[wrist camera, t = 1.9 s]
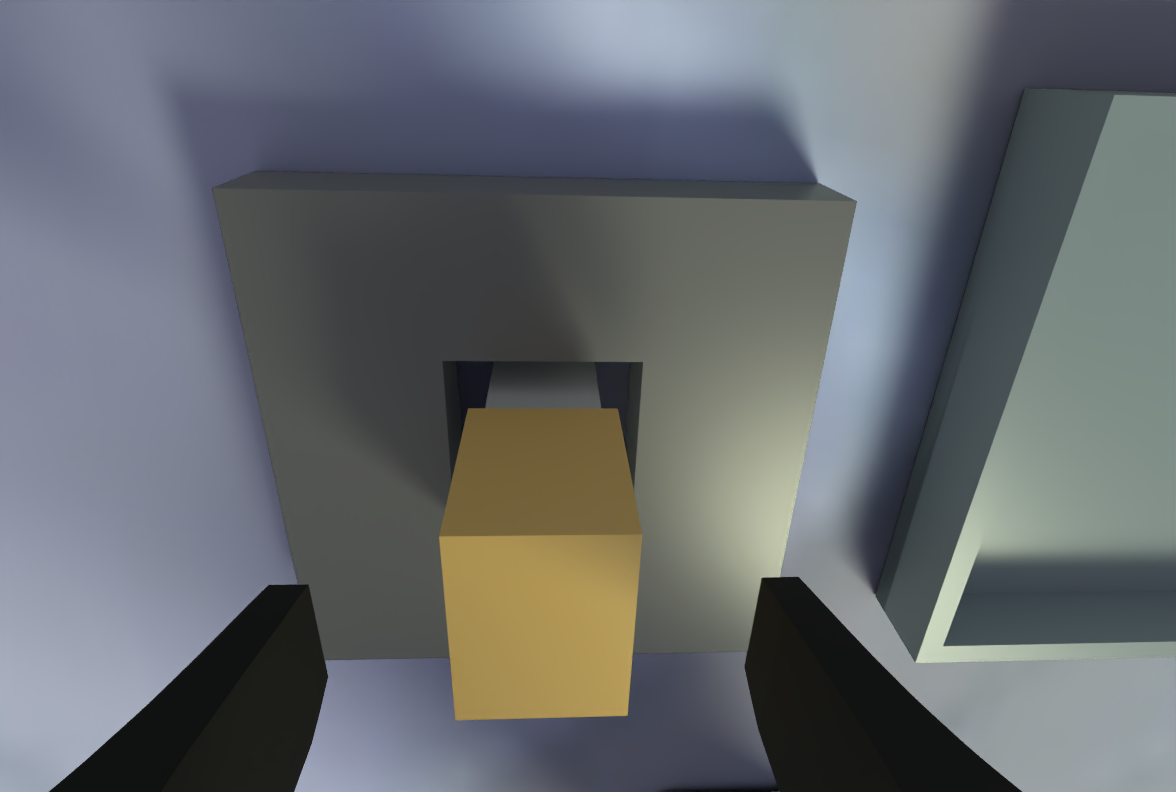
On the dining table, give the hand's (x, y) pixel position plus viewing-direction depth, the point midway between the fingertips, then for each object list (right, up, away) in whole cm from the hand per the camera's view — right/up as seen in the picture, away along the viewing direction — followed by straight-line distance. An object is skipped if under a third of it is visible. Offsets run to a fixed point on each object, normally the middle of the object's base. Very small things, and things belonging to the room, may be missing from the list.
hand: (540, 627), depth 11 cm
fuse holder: (0, +3, +6) cm, 7 cm away
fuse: (0, +3, +6) cm, 7 cm away
